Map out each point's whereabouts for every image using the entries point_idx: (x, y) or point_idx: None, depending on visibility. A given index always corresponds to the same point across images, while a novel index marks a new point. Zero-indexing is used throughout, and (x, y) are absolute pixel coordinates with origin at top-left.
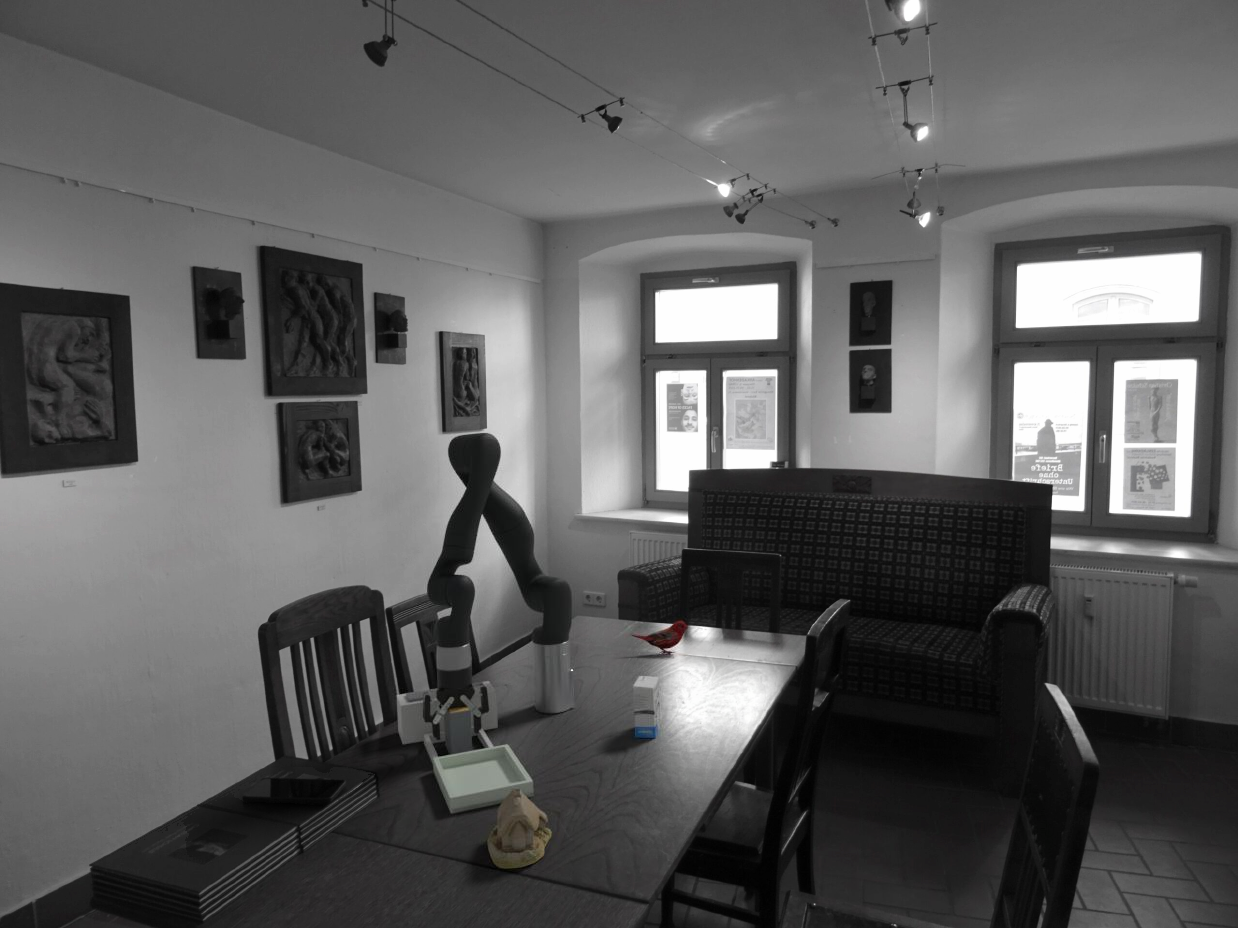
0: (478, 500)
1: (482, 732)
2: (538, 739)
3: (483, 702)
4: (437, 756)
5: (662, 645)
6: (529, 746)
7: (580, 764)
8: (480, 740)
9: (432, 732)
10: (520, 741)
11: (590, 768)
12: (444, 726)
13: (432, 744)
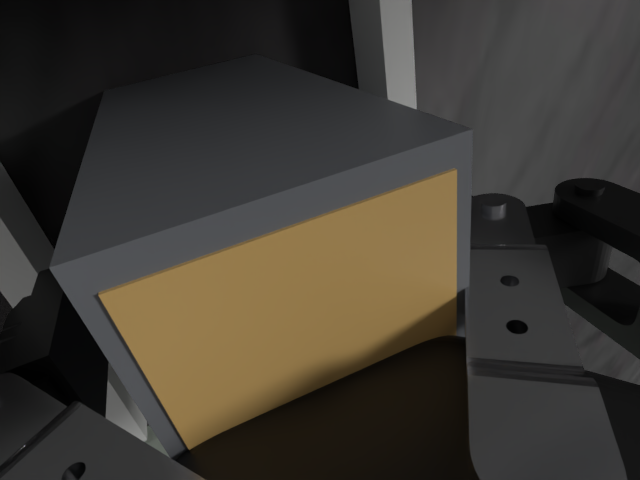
0: None
1: (400, 77)
2: (603, 119)
3: (628, 346)
4: (129, 418)
5: None
6: (546, 194)
7: (603, 340)
8: (358, 71)
9: (8, 325)
10: (536, 126)
11: (609, 360)
12: (93, 128)
13: (23, 254)
